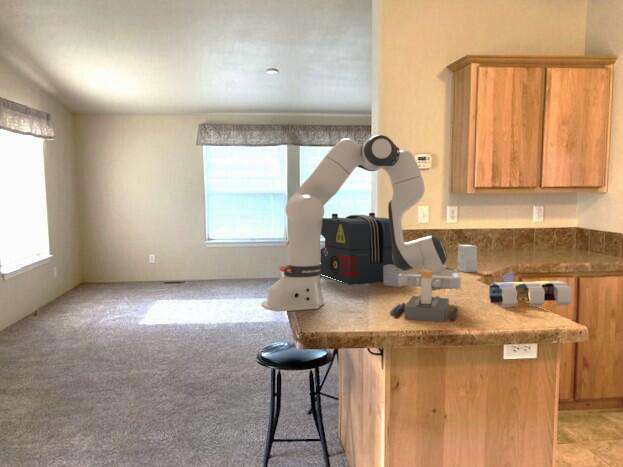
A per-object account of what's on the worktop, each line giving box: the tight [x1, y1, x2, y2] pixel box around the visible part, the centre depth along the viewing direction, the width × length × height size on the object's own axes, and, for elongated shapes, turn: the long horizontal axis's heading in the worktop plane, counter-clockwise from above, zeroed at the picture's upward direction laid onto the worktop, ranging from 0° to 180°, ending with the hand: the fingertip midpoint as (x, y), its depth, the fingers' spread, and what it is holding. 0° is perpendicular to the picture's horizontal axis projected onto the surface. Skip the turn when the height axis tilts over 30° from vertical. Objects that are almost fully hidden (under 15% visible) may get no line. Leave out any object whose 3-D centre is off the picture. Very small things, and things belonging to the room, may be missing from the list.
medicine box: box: [382, 264, 405, 288], centre depth 208 cm, size 8×4×9 cm, turn 47°
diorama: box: [488, 269, 573, 308], centre depth 173 cm, size 25×10×13 cm, turn 96°
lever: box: [420, 270, 433, 304], centre depth 156 cm, size 3×3×10 cm
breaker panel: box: [403, 294, 450, 323], centre depth 159 cm, size 16×12×5 cm
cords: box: [389, 302, 459, 321], centre depth 159 cm, size 16×21×1 cm
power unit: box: [320, 212, 395, 286], centre depth 226 cm, size 28×28×30 cm
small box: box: [456, 244, 478, 273], centre depth 245 cm, size 8×6×13 cm
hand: (426, 284), depth 155 cm, fingers closed on lever, 3 cm apart
